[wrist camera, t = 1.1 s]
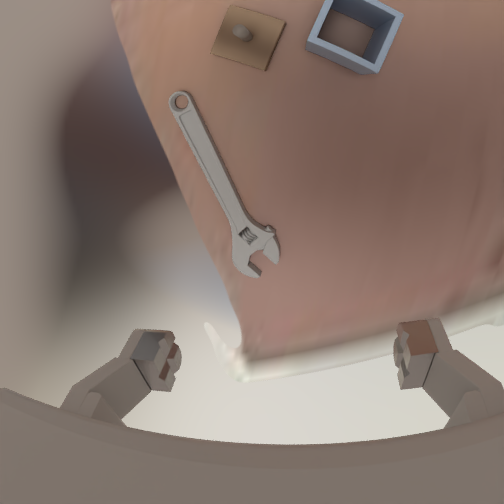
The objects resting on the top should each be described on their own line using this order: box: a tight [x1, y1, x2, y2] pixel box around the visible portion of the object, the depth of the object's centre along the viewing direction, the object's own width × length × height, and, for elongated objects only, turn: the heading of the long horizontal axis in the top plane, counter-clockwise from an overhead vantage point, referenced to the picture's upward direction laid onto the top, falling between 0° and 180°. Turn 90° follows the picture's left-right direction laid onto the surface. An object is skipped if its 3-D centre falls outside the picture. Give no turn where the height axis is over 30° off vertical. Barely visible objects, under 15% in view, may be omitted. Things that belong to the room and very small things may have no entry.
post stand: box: [210, 5, 286, 71], centre depth 26 cm, size 6×6×6 cm
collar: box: [305, 0, 404, 75], centre depth 23 cm, size 6×6×8 cm
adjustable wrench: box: [169, 91, 280, 278], centre depth 37 cm, size 25×6×2 cm, turn 20°
